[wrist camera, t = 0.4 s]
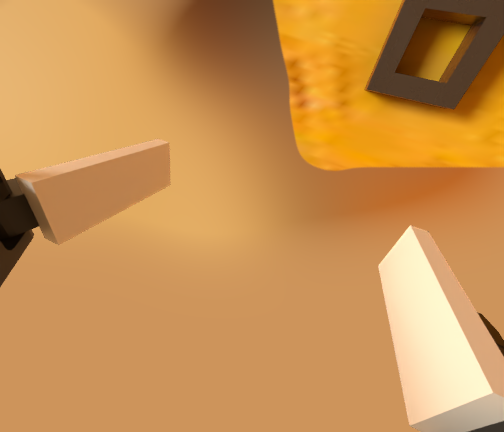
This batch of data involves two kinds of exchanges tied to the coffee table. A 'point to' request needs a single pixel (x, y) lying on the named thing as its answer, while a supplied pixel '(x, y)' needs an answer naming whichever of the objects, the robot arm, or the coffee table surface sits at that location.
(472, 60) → the dark grey ladder frame
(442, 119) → the coffee table surface
